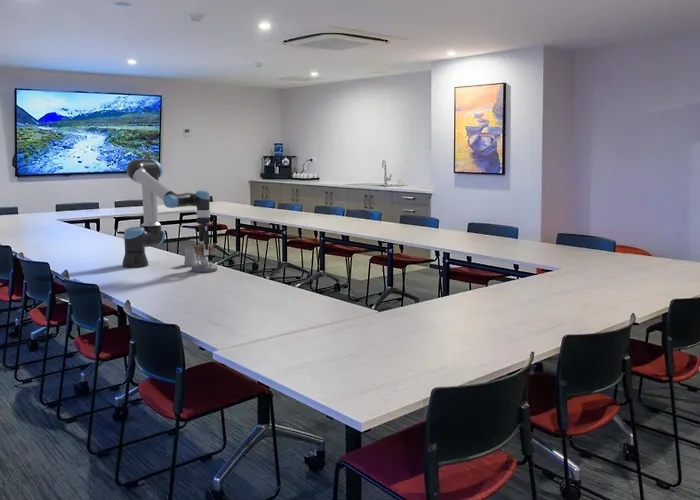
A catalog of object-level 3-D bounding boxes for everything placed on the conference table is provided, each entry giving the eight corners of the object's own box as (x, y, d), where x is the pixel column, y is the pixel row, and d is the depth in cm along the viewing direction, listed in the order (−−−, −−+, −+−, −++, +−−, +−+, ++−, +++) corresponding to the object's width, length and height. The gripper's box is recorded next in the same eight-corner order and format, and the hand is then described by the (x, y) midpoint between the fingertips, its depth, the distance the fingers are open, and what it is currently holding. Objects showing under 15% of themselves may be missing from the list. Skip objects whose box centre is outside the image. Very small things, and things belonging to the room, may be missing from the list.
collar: (196, 255, 367) (196, 247, 366) (193, 252, 377) (192, 244, 376) (215, 254, 372) (215, 246, 371) (211, 251, 382) (210, 243, 381)
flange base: (186, 271, 372) (186, 258, 370) (200, 267, 386) (200, 254, 384) (208, 273, 367) (208, 260, 365) (221, 269, 381) (221, 256, 379)
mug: (181, 265, 390) (180, 246, 388) (195, 262, 399) (195, 244, 397) (190, 266, 386) (189, 247, 384) (204, 264, 395) (203, 245, 393)
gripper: (214, 218, 362) (215, 256, 366) (205, 214, 383) (206, 250, 386) (201, 219, 359) (202, 257, 362) (192, 215, 380) (193, 250, 383)
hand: (204, 253), depth 374 cm, fingers closed on collar, 11 cm apart
